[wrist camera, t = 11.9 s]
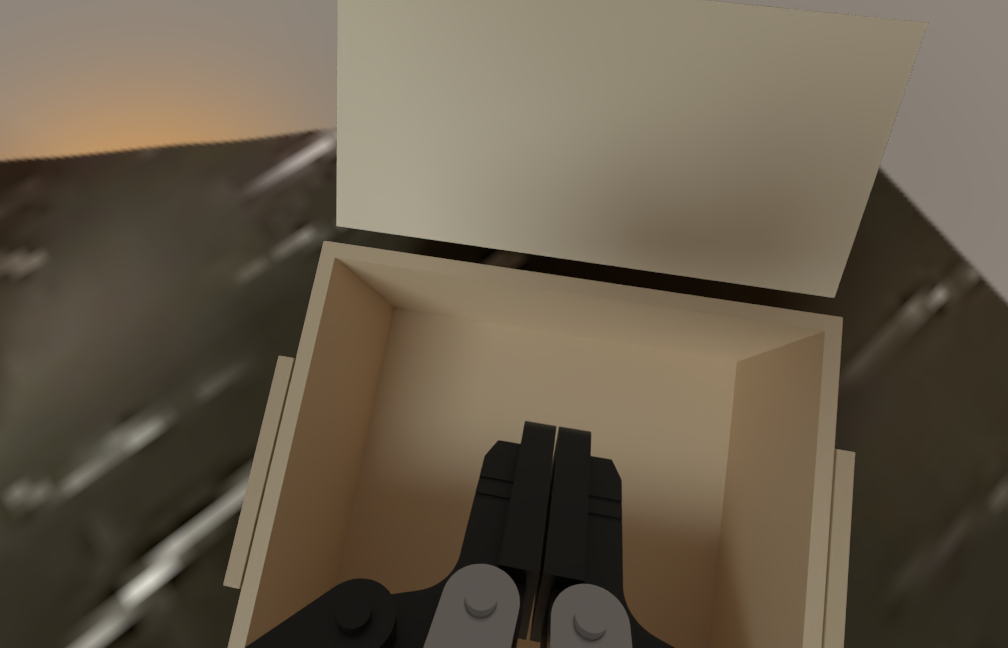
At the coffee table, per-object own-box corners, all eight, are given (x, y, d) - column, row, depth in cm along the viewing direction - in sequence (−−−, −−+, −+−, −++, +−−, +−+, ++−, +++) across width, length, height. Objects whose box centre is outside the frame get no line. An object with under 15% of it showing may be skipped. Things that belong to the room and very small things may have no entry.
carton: (303, 644, 29) (182, 752, 19) (377, 296, 32) (307, 237, 23) (723, 734, 27) (828, 906, 17) (757, 355, 31) (862, 319, 21)
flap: (338, -38, 19) (345, -34, 20) (336, 225, 22) (342, 223, 23) (928, 22, 17) (918, 25, 18) (834, 298, 21) (827, 293, 21)
